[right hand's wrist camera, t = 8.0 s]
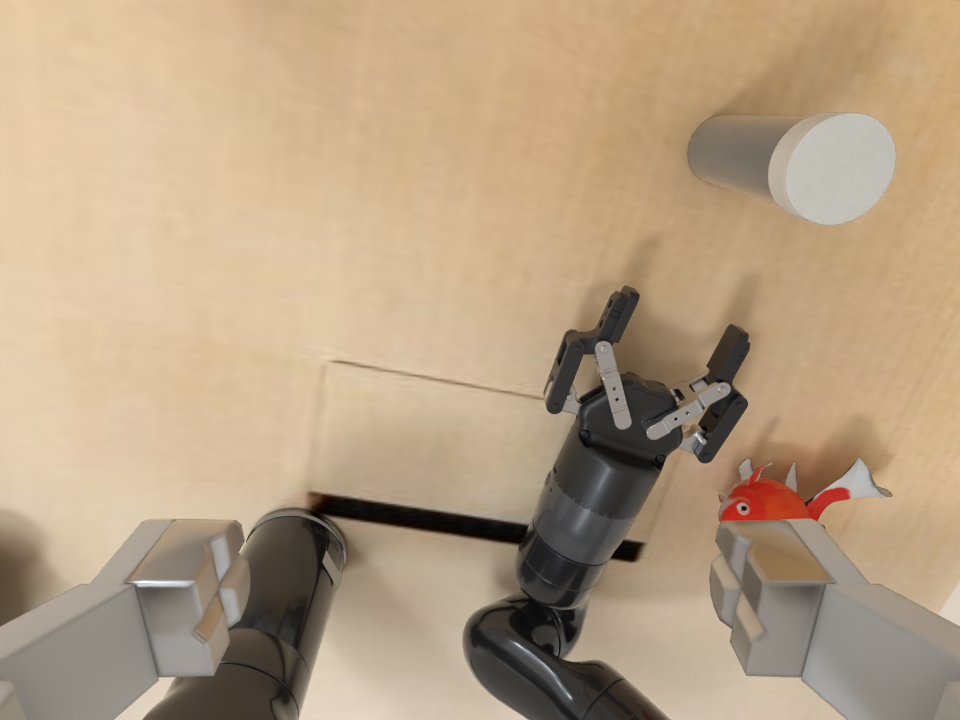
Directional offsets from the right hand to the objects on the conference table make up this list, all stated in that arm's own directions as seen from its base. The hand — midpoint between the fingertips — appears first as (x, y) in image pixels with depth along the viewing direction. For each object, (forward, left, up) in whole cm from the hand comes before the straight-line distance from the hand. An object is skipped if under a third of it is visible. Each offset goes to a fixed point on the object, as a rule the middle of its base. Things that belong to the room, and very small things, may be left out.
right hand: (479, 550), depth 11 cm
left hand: (+10, +13, -33) cm, 37 cm away
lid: (0, +18, -24) cm, 30 cm away
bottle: (0, +18, -40) cm, 44 cm away
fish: (+30, +21, -40) cm, 54 cm away
